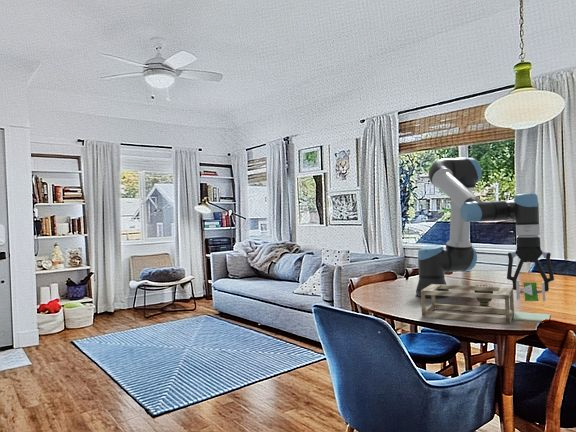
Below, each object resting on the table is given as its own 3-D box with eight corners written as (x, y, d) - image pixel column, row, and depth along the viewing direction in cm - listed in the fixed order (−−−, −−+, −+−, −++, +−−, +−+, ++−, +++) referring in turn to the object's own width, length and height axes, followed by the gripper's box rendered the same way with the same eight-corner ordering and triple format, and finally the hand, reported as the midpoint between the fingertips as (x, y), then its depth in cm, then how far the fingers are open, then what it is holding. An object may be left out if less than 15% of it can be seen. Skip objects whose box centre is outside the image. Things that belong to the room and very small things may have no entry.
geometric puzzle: (518, 291, 162) (519, 276, 158) (539, 292, 160) (540, 276, 155) (521, 306, 157) (521, 291, 153) (542, 307, 154) (544, 291, 150)
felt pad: (513, 319, 154) (513, 318, 154) (516, 313, 164) (516, 311, 164) (549, 322, 149) (549, 321, 149) (550, 315, 158) (549, 314, 158)
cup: (493, 308, 174) (492, 288, 174) (473, 306, 178) (472, 287, 178) (495, 304, 181) (494, 285, 181) (476, 303, 184) (475, 284, 184)
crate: (422, 316, 165) (420, 290, 165) (432, 308, 179) (431, 284, 179) (509, 324, 149) (508, 295, 149) (514, 314, 163) (512, 287, 163)
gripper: (495, 237, 159) (498, 299, 158) (561, 236, 148) (564, 303, 148) (498, 236, 165) (501, 296, 165) (561, 235, 154) (564, 299, 154)
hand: (531, 299), depth 156 cm, fingers closed on geometric puzzle, 7 cm apart
